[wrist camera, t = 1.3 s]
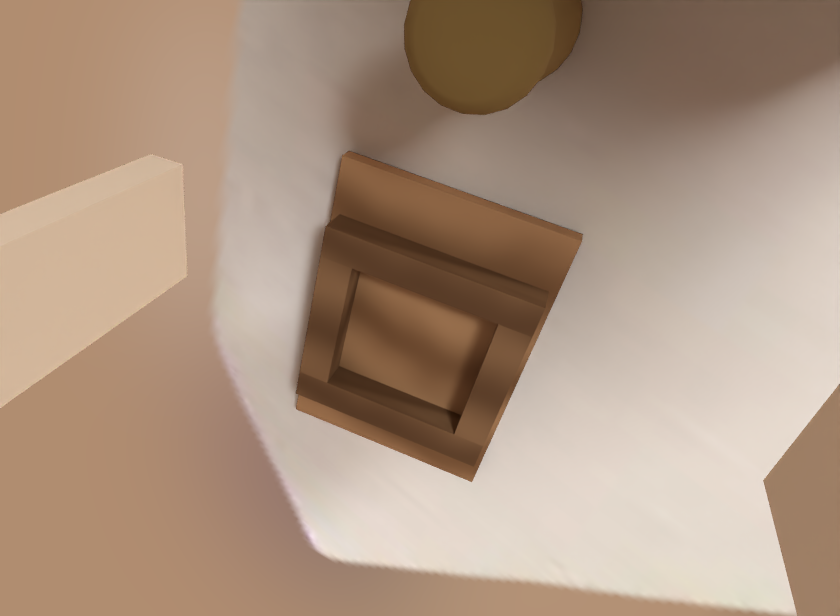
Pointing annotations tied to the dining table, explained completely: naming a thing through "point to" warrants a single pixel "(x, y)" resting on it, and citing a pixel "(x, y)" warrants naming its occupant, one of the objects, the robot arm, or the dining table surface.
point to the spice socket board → (425, 312)
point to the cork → (487, 48)
